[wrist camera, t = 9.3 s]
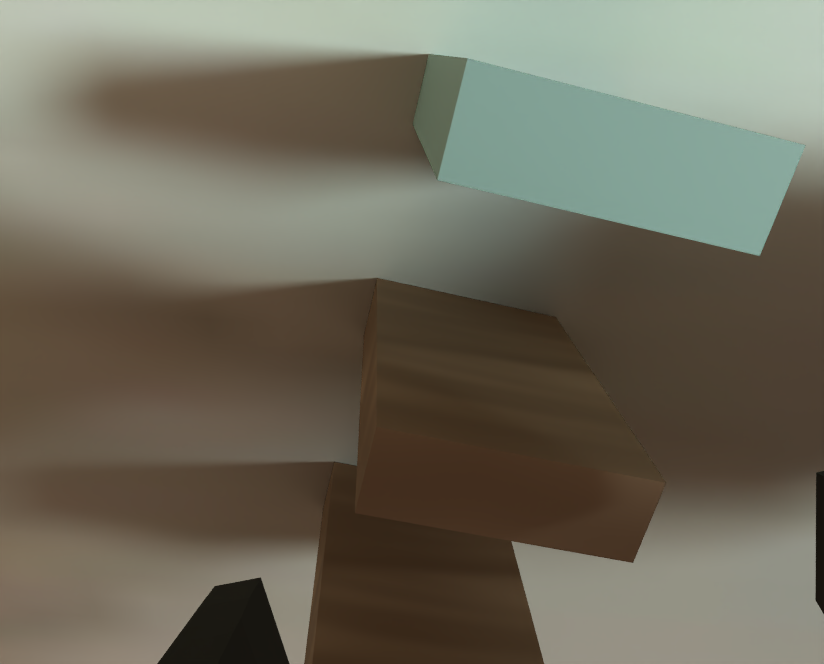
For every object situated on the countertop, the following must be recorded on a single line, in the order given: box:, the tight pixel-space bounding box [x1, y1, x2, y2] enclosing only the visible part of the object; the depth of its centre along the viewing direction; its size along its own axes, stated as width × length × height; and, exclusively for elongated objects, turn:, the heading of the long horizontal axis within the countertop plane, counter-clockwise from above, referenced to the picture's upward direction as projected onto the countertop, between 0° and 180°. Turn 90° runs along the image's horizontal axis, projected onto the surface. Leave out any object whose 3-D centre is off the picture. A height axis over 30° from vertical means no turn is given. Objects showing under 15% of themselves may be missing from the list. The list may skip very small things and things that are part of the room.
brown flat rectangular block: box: [304, 462, 544, 664], centre depth 18 cm, size 2×5×8 cm, turn 77°
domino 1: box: [413, 54, 805, 256], centre depth 14 cm, size 2×5×8 cm, turn 77°
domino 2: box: [355, 278, 666, 563], centre depth 16 cm, size 2×5×8 cm, turn 76°
